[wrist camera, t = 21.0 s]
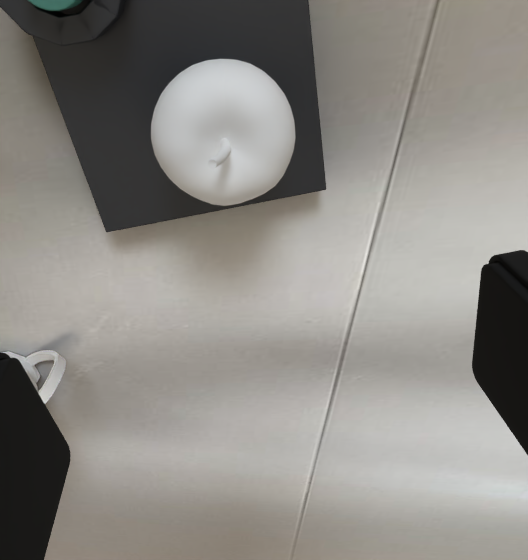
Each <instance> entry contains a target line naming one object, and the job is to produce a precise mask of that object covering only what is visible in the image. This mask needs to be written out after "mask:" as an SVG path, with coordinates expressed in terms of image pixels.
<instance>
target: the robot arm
mask: <svg viewBox="0 0 528 560" xmlns="http://www.w3.org/2000/svg"><path fill="white" fill-rule="evenodd" d="M472 368H473V373H474V376H475V379H476V381H477V382H478V384H479V385H480V387H481V388H482V390H483V391H484V392H485V394H486V395H487V397H488V398H489V400H490V401H491V403H492V404H493V406H494V407H495V408H496V410H497V411H498V413H499V414H500V416H501V417H502V419H503V420H504V421H505V423H506V424H507V426H508V427H509V429H510V430H511V432H512V433H513V434H514V436H515V437H516V439H517V440H518V442H519V443H520V445H521V446H522V447H523V449H524V450H525V452H526V453H527V455H528V252H526V251H524V250H519V251H514V252H509V253H504V254H499V255H494V256H493V257H491V259H490V261H489V264H486V265H484V266H483V268H482V271H481V280H480V290H479V300H478V310H477V320H476V330H475V340H474V350H473V360H472ZM69 464H70V450H69V446H68V444H67V442H66V440H65V439H64V437H63V435H62V433H61V432H60V430H59V428H58V427H57V425H56V423H55V421H54V420H53V418H52V416H51V414H50V413H49V411H48V409H47V407H46V406H45V404H44V402H43V401H42V399H41V397H40V395H39V394H38V392H37V390H36V388H35V387H34V385H33V383H32V382H31V380H30V378H29V376H28V375H27V373H26V371H25V369H24V368H23V366H22V364H21V363H20V361H19V360H18V359H17V358H10V356H9V355H7V354H6V353H0V560H44V557H45V553H46V550H47V546H48V542H49V538H50V535H51V531H52V527H53V524H54V520H55V516H56V512H57V509H58V505H59V501H60V498H61V494H62V490H63V487H64V483H65V479H66V475H67V472H68V468H69Z"/></svg>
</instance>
